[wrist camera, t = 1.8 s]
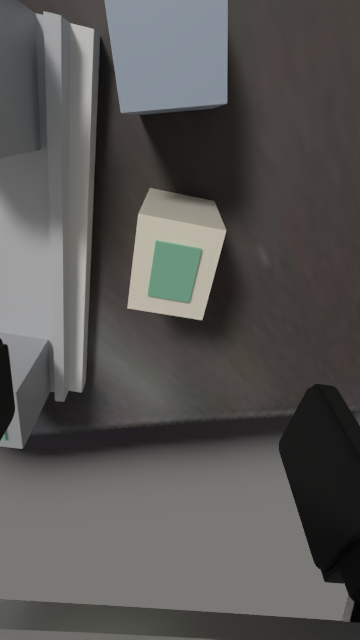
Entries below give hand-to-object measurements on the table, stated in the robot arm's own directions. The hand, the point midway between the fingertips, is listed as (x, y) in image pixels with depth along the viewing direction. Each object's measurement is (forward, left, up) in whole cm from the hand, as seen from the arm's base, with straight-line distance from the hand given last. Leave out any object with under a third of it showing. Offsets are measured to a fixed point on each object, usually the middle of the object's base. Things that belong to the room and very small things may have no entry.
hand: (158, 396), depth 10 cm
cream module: (0, 0, -16) cm, 16 cm away
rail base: (+11, +3, -16) cm, 19 cm away
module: (+2, -10, -16) cm, 19 cm away
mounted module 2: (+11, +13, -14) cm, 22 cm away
